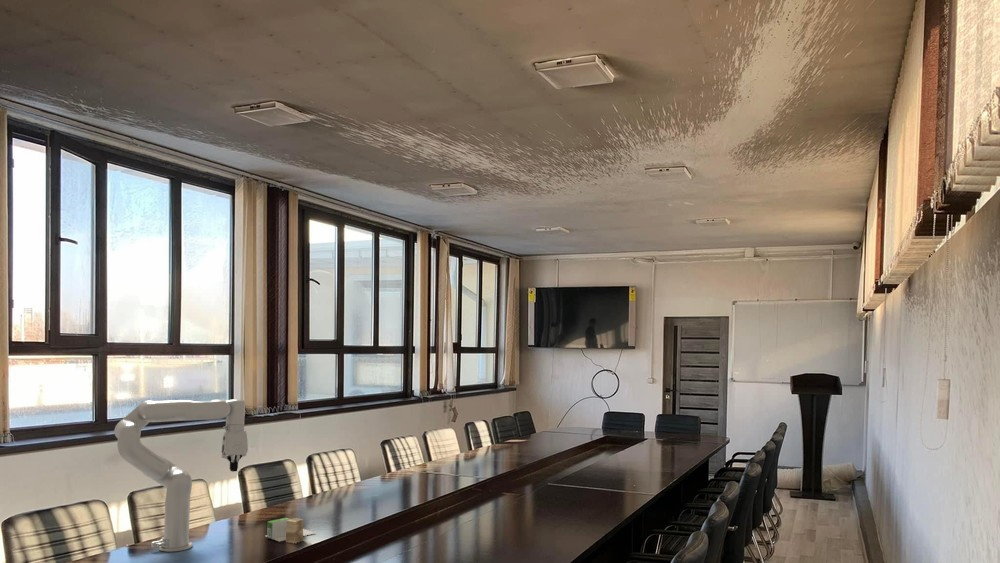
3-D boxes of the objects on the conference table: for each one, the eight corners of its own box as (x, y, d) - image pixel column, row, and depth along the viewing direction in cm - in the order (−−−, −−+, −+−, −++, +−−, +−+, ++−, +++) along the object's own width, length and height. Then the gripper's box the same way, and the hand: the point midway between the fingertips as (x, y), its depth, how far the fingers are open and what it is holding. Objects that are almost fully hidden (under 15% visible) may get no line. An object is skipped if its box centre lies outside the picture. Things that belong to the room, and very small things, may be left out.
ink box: (266, 537, 323) (292, 531, 334) (271, 539, 321) (297, 533, 331) (266, 521, 324) (293, 515, 334) (272, 523, 321) (298, 517, 332)
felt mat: (279, 541, 319) (279, 540, 319) (265, 536, 327) (265, 535, 327) (315, 534, 331) (316, 533, 331) (301, 529, 340) (301, 528, 340)
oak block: (294, 543, 316) (295, 521, 317) (285, 542, 318) (286, 520, 319) (303, 540, 320) (303, 519, 321) (294, 539, 323) (294, 518, 323)
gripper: (222, 430, 317) (220, 474, 315) (255, 427, 327) (254, 470, 326) (214, 428, 322) (212, 472, 321) (247, 426, 333) (245, 467, 331)
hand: (233, 470), depth 323 cm, fingers closed
